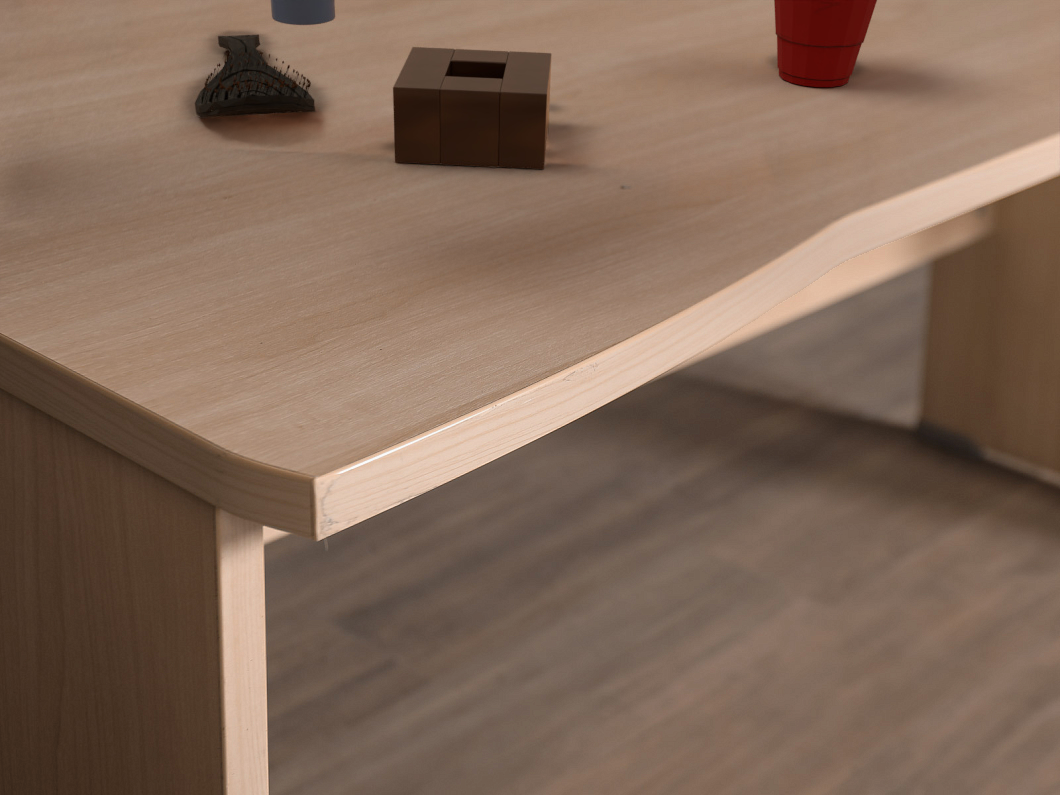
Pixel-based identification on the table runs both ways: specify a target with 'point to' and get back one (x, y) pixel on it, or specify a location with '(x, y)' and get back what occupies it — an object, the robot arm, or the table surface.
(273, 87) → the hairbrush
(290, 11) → the handle
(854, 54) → the plastic cup
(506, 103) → the holder
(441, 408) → the table surface
